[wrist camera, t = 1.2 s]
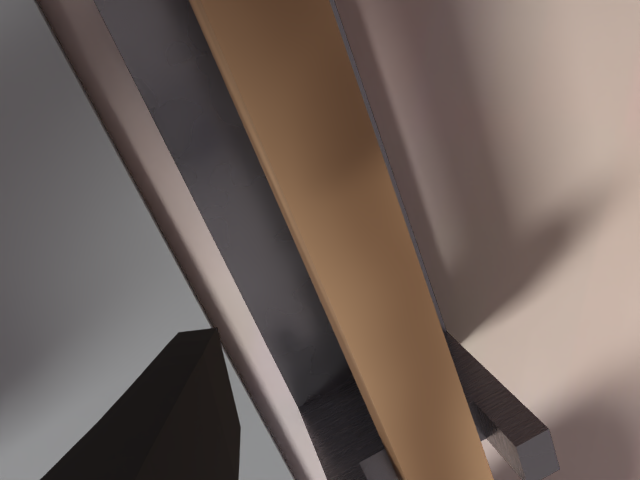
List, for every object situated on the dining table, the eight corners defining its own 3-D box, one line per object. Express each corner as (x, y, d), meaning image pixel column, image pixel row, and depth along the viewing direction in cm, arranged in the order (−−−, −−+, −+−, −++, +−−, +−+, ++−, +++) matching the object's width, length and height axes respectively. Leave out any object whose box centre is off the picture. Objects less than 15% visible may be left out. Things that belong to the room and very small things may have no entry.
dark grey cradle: (309, 428, 24) (370, 576, 17) (27, -135, 16) (-71, -280, 9) (449, 355, 25) (560, 469, 18) (251, -216, 17) (320, -405, 10)
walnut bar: (410, 505, 20) (442, 563, 18) (51, -314, 11) (23, -409, 9) (470, 472, 21) (509, 525, 18) (169, -352, 11) (173, -453, 9)
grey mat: (92, 607, 24) (91, 618, 24) (-519, -110, 13) (-543, -116, 13) (303, 494, 25) (306, 502, 25) (-98, -248, 14) (-107, -258, 14)
